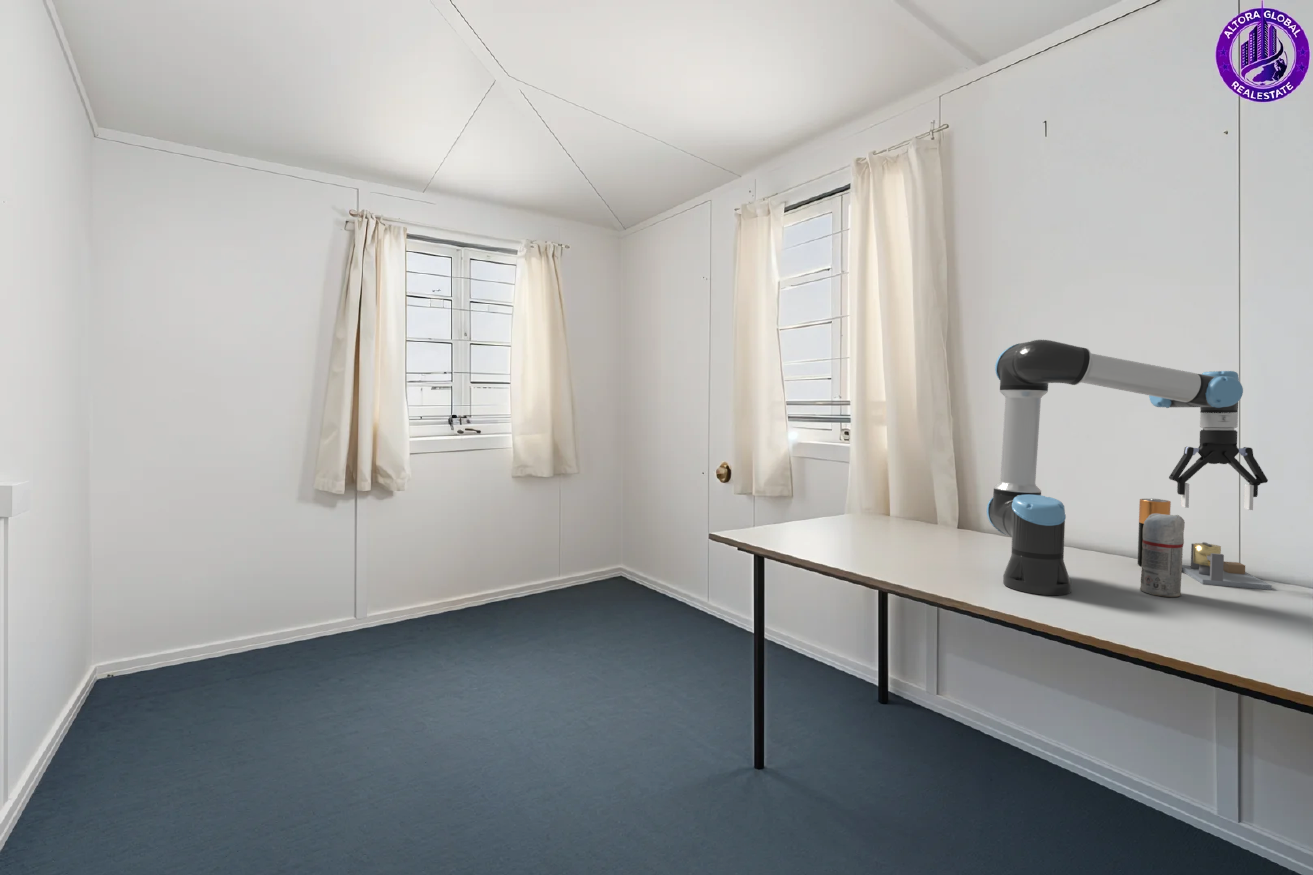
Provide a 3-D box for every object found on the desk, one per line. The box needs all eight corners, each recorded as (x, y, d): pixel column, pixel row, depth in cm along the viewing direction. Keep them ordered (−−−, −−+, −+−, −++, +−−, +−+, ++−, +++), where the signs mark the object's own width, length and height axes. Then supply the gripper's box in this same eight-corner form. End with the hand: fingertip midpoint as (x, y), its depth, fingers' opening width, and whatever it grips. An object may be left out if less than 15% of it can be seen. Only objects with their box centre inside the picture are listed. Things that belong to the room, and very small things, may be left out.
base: (1202, 584, 166) (1203, 553, 166) (1178, 568, 182) (1179, 540, 182) (1271, 590, 161) (1272, 558, 161) (1240, 573, 177) (1241, 544, 176)
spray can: (1190, 599, 153) (1193, 518, 152) (1151, 597, 155) (1154, 516, 154) (1169, 589, 162) (1172, 512, 161) (1133, 587, 163) (1135, 511, 162)
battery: (1138, 567, 184) (1140, 499, 183) (1136, 562, 190) (1138, 496, 189) (1169, 570, 180) (1172, 501, 179) (1167, 565, 186) (1169, 498, 185)
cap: (1227, 568, 166) (1227, 548, 166) (1200, 566, 168) (1201, 546, 168) (1212, 560, 175) (1213, 541, 174) (1187, 558, 177) (1187, 539, 177)
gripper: (1166, 429, 169) (1164, 507, 170) (1286, 429, 160) (1284, 512, 161) (1156, 428, 176) (1154, 503, 177) (1270, 428, 167) (1268, 508, 168)
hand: (1216, 508), depth 169 cm, fingers open, 13 cm apart
